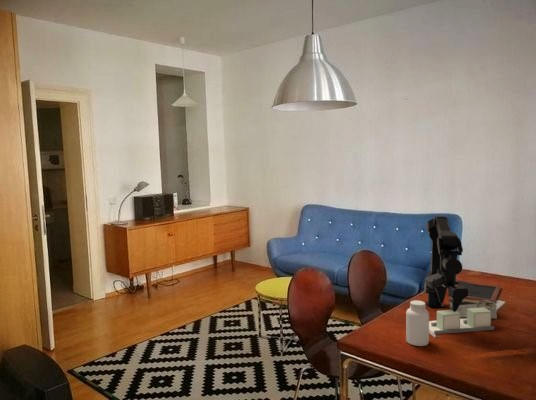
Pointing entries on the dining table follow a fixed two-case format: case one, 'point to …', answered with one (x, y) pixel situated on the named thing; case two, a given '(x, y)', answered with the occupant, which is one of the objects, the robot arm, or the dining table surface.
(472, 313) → the faced box
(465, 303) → the coffee box
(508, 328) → the dining table surface
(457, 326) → the pale green box
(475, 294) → the picture frame
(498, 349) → the dining table surface
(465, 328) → the shelf
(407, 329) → the pill bottle
